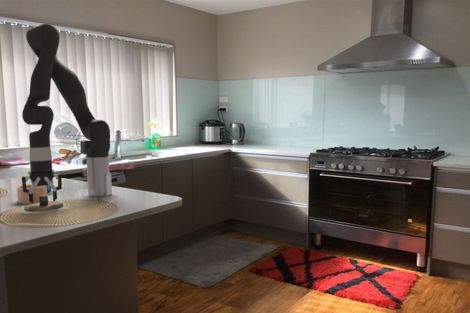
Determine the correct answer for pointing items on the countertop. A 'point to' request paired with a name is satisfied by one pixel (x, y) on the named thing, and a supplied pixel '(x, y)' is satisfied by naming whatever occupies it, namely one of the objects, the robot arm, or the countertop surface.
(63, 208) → the mat
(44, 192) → the bowl
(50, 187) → the snack cup
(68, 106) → the robot arm
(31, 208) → the lid
